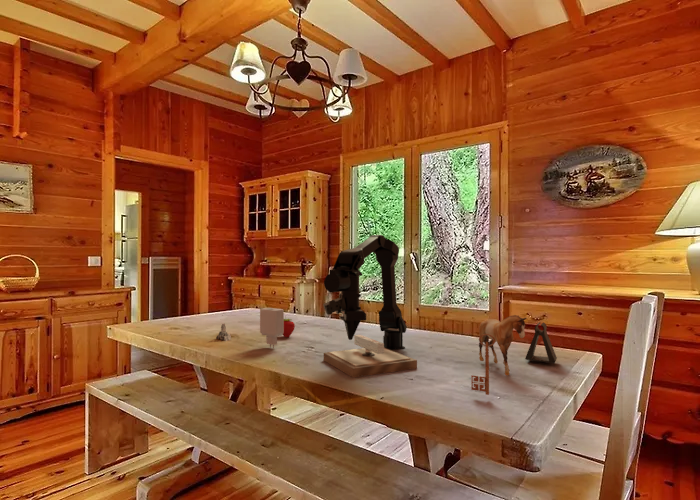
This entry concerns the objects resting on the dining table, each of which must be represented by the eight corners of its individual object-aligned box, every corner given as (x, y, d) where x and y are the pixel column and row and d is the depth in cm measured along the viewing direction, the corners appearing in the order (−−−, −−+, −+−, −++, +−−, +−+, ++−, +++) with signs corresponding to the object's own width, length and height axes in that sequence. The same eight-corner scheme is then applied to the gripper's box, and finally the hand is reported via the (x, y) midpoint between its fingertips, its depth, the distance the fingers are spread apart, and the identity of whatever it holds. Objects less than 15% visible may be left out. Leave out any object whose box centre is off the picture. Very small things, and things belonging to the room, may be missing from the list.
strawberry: (288, 340, 169) (288, 316, 169) (275, 338, 173) (275, 315, 173) (298, 338, 174) (298, 314, 174) (284, 336, 178) (284, 313, 178)
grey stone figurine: (244, 341, 169) (244, 323, 170) (226, 345, 163) (226, 325, 163) (232, 339, 175) (232, 320, 175) (213, 342, 169) (213, 323, 169)
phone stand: (557, 359, 138) (556, 323, 138) (555, 363, 132) (554, 325, 133) (527, 355, 142) (527, 321, 143) (525, 359, 137) (524, 323, 137)
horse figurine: (528, 378, 116) (528, 316, 116) (506, 379, 115) (505, 317, 116) (489, 356, 142) (489, 305, 142) (471, 356, 141) (470, 306, 142)
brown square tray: (380, 353, 147) (380, 344, 147) (417, 368, 127) (416, 358, 127) (323, 360, 137) (323, 350, 137) (353, 377, 117) (353, 366, 117)
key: (471, 392, 104) (470, 332, 104) (471, 391, 105) (471, 332, 105) (495, 396, 101) (494, 334, 102) (495, 394, 102) (495, 334, 102)
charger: (275, 352, 149) (275, 310, 149) (258, 348, 155) (258, 308, 155) (285, 349, 153) (284, 309, 153) (268, 346, 158) (268, 307, 159)
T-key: (354, 348, 139) (354, 335, 139) (359, 348, 140) (359, 334, 140) (378, 359, 124) (378, 344, 124) (383, 358, 125) (383, 343, 125)
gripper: (321, 288, 139) (321, 335, 138) (329, 293, 120) (329, 346, 120) (353, 288, 141) (353, 334, 141) (366, 292, 123) (366, 345, 122)
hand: (350, 339), depth 131 cm, fingers closed
